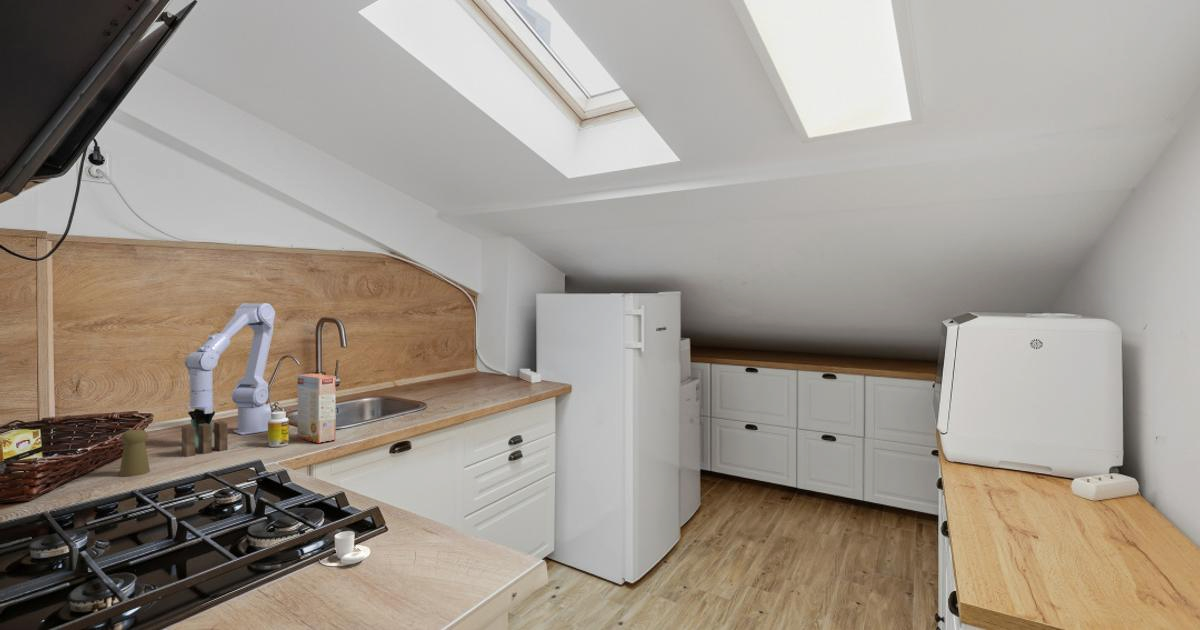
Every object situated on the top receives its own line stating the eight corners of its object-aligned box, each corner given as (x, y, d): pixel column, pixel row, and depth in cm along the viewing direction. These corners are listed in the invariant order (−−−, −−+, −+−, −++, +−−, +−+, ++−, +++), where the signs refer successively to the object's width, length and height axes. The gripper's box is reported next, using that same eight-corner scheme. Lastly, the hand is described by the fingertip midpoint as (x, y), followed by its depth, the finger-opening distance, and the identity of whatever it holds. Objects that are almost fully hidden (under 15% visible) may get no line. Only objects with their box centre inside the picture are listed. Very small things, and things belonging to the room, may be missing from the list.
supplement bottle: (282, 447, 168) (282, 414, 167) (264, 447, 167) (263, 414, 167) (292, 443, 173) (292, 410, 173) (274, 443, 173) (274, 410, 173)
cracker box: (336, 440, 176) (336, 375, 176) (317, 444, 172) (317, 377, 171) (315, 434, 185) (315, 372, 184) (296, 438, 180) (296, 374, 180)
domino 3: (222, 447, 168) (221, 421, 168) (227, 450, 165) (227, 423, 165) (214, 448, 166) (214, 422, 166) (219, 451, 163) (219, 424, 163)
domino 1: (190, 452, 162) (190, 425, 162) (195, 455, 158) (195, 427, 158) (181, 453, 160) (181, 426, 160) (186, 456, 157) (186, 428, 157)
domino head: (191, 445, 170) (191, 419, 170) (210, 442, 174) (210, 417, 173) (193, 446, 168) (192, 420, 168) (212, 443, 172) (212, 417, 172)
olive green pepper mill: (155, 470, 143) (155, 428, 143) (129, 477, 138) (129, 433, 138) (140, 468, 145) (139, 427, 145) (113, 475, 140) (113, 432, 140)
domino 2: (206, 449, 165) (206, 423, 165) (211, 452, 162) (211, 425, 161) (198, 451, 163) (198, 424, 163) (203, 454, 160) (203, 426, 160)
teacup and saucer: (366, 567, 92) (366, 543, 92) (313, 574, 89) (313, 549, 89) (372, 545, 100) (372, 523, 100) (324, 551, 98) (324, 528, 98)
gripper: (179, 389, 172) (179, 432, 173) (192, 394, 163) (193, 439, 163) (205, 386, 178) (206, 428, 178) (220, 391, 168) (220, 435, 169)
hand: (201, 434), depth 171 cm, fingers closed on domino head, 2 cm apart
